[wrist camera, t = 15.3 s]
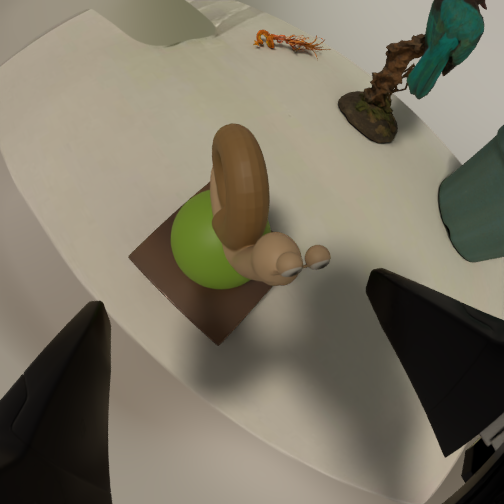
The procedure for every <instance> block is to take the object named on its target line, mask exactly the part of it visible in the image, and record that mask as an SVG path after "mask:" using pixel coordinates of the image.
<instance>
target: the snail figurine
mask: <svg viewBox="0 0 504 504" xmlns="http://www.w3.org/2000/svg"><path fill="white" fill-rule="evenodd" d="M212 161H213V167H212V171H211V179H210V190H207V191H204V192H201V193H199V194H197V195H195V196H194V197H192V198H191V199H190V200H189V201H187V202H186V203H185V204H184V205H183V207H182V208H181V209H180V211H179V212H178V214H177V216H176V218H175V220H174V223H173V226H172V230H171V248H172V252H173V255H174V258H175V260H176V262H177V264H178V266H179V267H180V269H181V270H182V271H183V273H184V274H185V275H186V276H187V277H189V278H190V279H191V280H192V281H194V282H196V283H197V284H199V285H202V286H204V287H207V288H212V289H231V288H235V287H238V286H240V285H243V284H245V283H246V282H248V281H250V280H255V281H263V282H264V283H266V284H268V285H271V286H279V285H287V284H289V283H291V282H292V281H293V280H294V279H295V278H296V277H297V276H298V274H299V273H300V272H301V270H302V269H303V268H307V267H309V268H311V269H313V270H317V269H321V268H324V267H325V266H327V265H328V264H329V262H330V259H331V256H330V253H329V251H328V249H327V248H325V247H324V246H321V245H314V246H312V247H310V248H309V249H308V250H307V252H306V255H305V261H306V265H303V261H302V259H301V253H300V250H299V248H298V246H297V244H296V243H295V242H294V240H292V239H291V238H290V237H289V236H287V235H285V234H283V233H280V232H271V229H270V225H269V221H268V214H269V183H268V175H267V169H266V164H265V161H264V157H263V154H262V151H261V149H260V146H259V144H258V142H257V140H256V138H255V137H254V135H253V134H252V133H251V132H250V131H249V130H248V129H247V128H245V127H244V126H242V125H239V124H228V125H225V126H223V127H221V128H220V129H219V130H218V131H217V133H216V134H215V136H214V139H213V145H212Z"/></svg>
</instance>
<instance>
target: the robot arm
mask: <svg viewBox="0 0 504 504" xmlns="http://www.w3.org/2000/svg"><path fill="white" fill-rule="evenodd" d="M366 294H367V296H368V299H369V301H370V303H371V305H372V307H373V309H374V311H375V314H376V316H377V318H378V320H379V323H380V325H381V327H382V329H383V330H384V332H385V334H386V336H387V338H388V340H389V341H390V343H391V345H392V347H393V349H394V350H395V352H396V354H397V356H398V358H399V360H400V362H401V364H402V366H403V367H404V369H405V371H406V373H407V375H408V377H409V379H410V381H411V383H412V385H413V387H414V389H415V391H416V393H417V395H418V398H419V400H420V402H421V404H422V406H423V408H424V410H425V412H426V414H427V417H428V419H429V422H430V424H431V426H432V429H433V431H434V433H435V436H436V438H437V440H438V443H439V445H440V448H441V450H442V453H443V455H444V456H445V458H446V457H447V456H449V455H450V454H452V453H453V452H455V451H456V450H458V449H459V448H461V447H462V446H463V445H465V444H466V443H467V442H469V441H470V440H471V439H473V438H474V437H475V436H477V435H478V434H479V435H480V438H478V439H477V440H476V441H475V443H473V445H471V446H470V447H469V448H468V449H467V450H466V451H465V458H464V464H463V470H462V475H461V476H462V478H463V480H464V482H465V484H464V485H463V486H462V487H461V488H460V489H459V490H458V491H456V492H455V493H454V494H453V495H452V496H451V497H449V498H448V499H447V500H446V501H445V502H444V503H442V504H504V320H502V319H499V318H497V317H494V316H492V315H489V314H487V313H484V312H482V311H480V310H477V309H475V308H473V307H471V306H468V305H466V304H464V303H461V302H460V301H457V300H455V299H453V298H451V297H449V296H446V295H444V294H442V293H440V292H437V291H435V290H433V289H430V288H428V287H426V286H424V285H421V284H419V283H417V282H414V281H412V280H410V279H407V278H405V277H403V276H400V275H398V274H396V273H393V272H391V271H388V270H386V269H384V268H378V269H373V270H372V271H371V273H370V276H369V279H368V282H367V286H366ZM110 375H111V324H110V320H109V317H108V314H107V312H106V309H105V306H104V304H103V302H102V301H91V302H89V303H88V304H86V306H84V308H82V309H81V311H80V312H79V313H78V314H77V315H76V316H75V317H74V318H73V319H72V320H71V321H70V322H69V323H68V324H67V325H66V326H65V327H64V328H63V329H62V330H61V331H60V333H58V335H57V336H56V337H55V338H54V339H53V340H52V341H51V342H50V343H49V344H48V345H47V346H46V348H45V349H44V350H43V351H42V352H41V353H40V354H39V355H38V357H37V358H36V359H35V360H34V361H33V362H32V363H31V365H30V366H29V367H28V368H27V369H26V370H25V372H24V375H23V374H22V375H21V376H20V378H19V379H18V380H17V381H16V383H15V384H14V385H13V386H12V387H11V388H10V390H9V391H8V392H7V393H6V394H5V395H4V397H3V398H2V399H1V400H0V504H112V497H111V493H110V492H111V489H110V476H109V459H108V410H109V390H110Z"/></svg>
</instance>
